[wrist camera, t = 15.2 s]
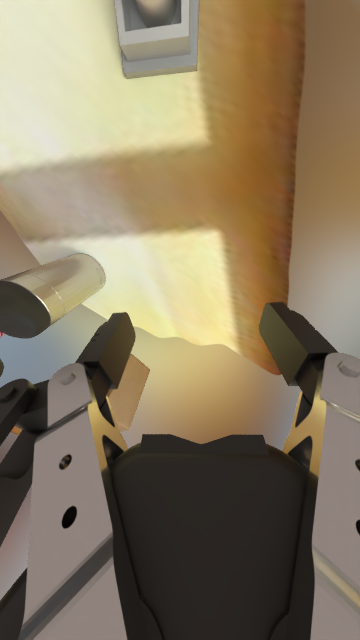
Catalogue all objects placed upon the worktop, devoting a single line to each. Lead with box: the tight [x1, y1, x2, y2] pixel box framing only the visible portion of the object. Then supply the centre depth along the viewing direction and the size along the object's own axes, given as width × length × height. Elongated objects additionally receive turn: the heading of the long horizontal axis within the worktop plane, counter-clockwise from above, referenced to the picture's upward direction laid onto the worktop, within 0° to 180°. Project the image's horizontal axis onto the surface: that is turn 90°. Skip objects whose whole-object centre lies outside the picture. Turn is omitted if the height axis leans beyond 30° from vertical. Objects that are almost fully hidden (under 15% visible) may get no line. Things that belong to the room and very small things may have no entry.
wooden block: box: [107, 354, 150, 431], centre depth 51 cm, size 10×10×20 cm
